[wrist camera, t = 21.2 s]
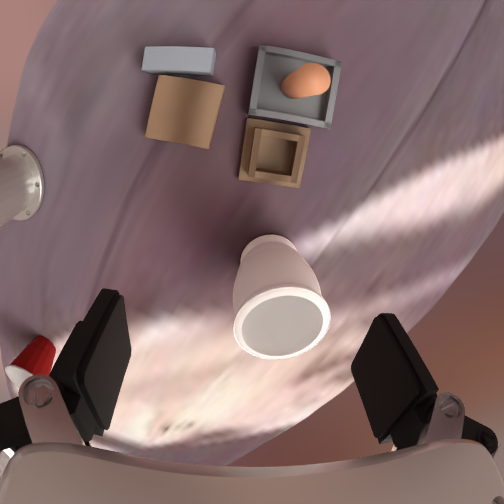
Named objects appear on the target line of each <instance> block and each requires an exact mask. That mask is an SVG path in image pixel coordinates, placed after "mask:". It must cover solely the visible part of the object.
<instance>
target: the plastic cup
mask: <svg viewBox="0 0 504 504" xmlns="http://www.w3.org/2000/svg"><path fill="white" fill-rule="evenodd" d="M55 352H56V349H55V347H54V345H53V344H52V343H51V342H50V341H49V340H48V339H47V338H45V337H42V336H38V337H36V338H35V339H34V340H33V341H32V342H31V343H30V344H29V345H27V347H26V348H25V349H24V350H23V351H22V352H21V353H20V354H19V355H18V357H17V358H16V359H15V360H14V361H13V362H12V363H11V364H10V365H8V366H6V367H5V372H6V374H7V375H8V377H9V378H10V379H11V380H12V381H13V383H14V384H16V385H17V386H18V387H19V388H20V386H21V384H22V383H23V381H24V380H26V379H27V378H28V377H30V376H32V375H37V374H43V375H47V376H49V374H50V371H51V368H52V364H53V360H54V356H55Z"/></svg>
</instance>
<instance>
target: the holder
mask: <svg viewBox="0 0 504 504" xmlns="http://www.w3.org/2000/svg"><path fill="white" fill-rule="evenodd" d="M310 131H311V129H310V128H305V127H300V126H295V125H289V124H284V123H278V122H272V121H265V120H258V119H251V118H247V123H246V129H245V136H244V143H243V150H242V157H241V164H240V171H239V178H238V179H239V180H245V181H253V182H261V183H268V184H275V185H282V186H289V187H295V188H300V183H301V178H302V173H303V168H304V163H305V158H306V153H307V148H308V142H309V137H310Z"/></svg>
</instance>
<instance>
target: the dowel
mask: <svg viewBox="0 0 504 504" xmlns="http://www.w3.org/2000/svg"><path fill="white" fill-rule="evenodd" d="M330 82H331V79H330V75H329V73H328V71H327V70H326V69H325V68H324V67H323V66H322V65H320V64H317V63H307V64H305V65H303V66H301V67H300V68H298V69H297V70H295V71H294V72H292V73H291V74H289V75H288V76H286V77H285V78H284V79H283V80H282V82H281V91H282V93H283V94H284V95H285V96H286V97H288V98H290V99H298V98H303V97H309V96H314V95H320V94H322V93H324V92H325V91H327V89H328V88H329V86H330Z"/></svg>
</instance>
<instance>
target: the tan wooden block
mask: <svg viewBox="0 0 504 504" xmlns="http://www.w3.org/2000/svg"><path fill="white" fill-rule="evenodd" d="M224 91H225V85H220V84H215V83H210V82H204V81H199V80H193V79H187V78H181V77H174V76H167V75H159V77H158V81H157V85H156V89H155V93H154V97H153V102H152V106H151V110H150V115H149V120H148V125H147V130H146V135H145V138H152V139H158V140H164V141H169V142H175V143H180V144H185V145H191V146H196V147H200V148H205V149H209V147H210V145H211V141H212V137H213V133H214V129H215V125H216V121H217V117H218V113H219V109H220V105H221V102H222V98H223V94H224Z"/></svg>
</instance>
